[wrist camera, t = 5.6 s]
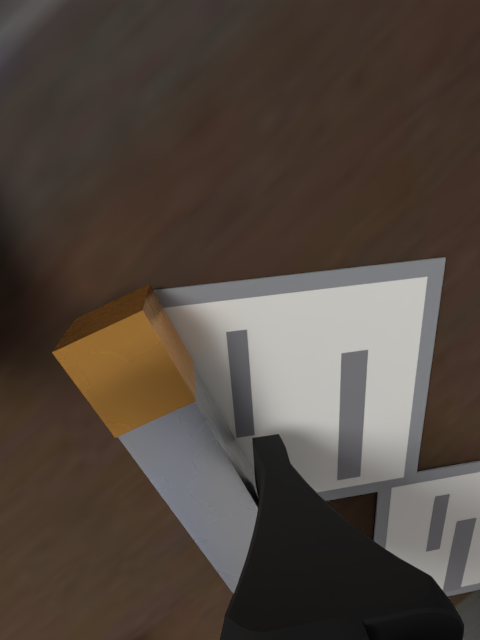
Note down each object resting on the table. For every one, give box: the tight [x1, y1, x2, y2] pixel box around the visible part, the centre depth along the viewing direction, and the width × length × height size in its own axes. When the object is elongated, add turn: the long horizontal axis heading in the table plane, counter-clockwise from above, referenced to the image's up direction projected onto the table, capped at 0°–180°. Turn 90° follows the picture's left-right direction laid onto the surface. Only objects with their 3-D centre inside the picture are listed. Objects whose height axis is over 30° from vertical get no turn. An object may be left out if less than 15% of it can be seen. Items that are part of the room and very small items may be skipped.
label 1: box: [154, 257, 446, 501], centre depth 14 cm, size 10×10×1 cm
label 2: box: [373, 461, 480, 596], centre depth 19 cm, size 9×9×1 cm
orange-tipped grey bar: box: [52, 284, 259, 594], centre depth 14 cm, size 20×4×2 cm, turn 23°
